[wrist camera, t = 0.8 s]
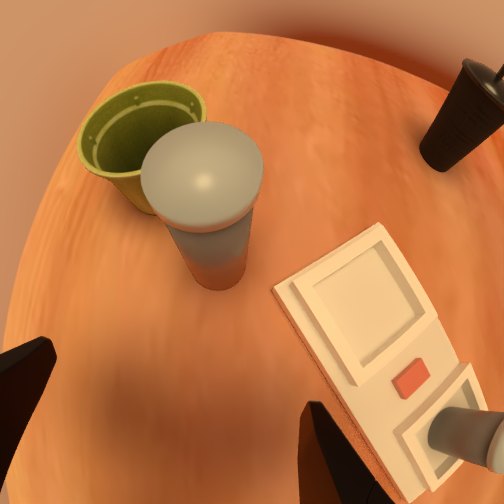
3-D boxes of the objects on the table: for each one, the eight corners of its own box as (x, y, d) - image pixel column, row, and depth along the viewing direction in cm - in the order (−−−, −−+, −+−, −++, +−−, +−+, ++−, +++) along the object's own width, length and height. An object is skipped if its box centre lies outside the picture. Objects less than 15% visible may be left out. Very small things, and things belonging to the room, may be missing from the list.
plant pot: (124, 151, 26) (96, 90, 18) (214, 143, 27) (209, 74, 19) (108, 235, 23) (61, 184, 15) (212, 231, 24) (203, 170, 16)
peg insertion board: (401, 498, 16) (464, 539, 6) (271, 290, 22) (300, 242, 12) (475, 425, 18) (547, 433, 8) (371, 228, 25) (434, 164, 15)
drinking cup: (430, 185, 27) (536, 64, 8) (399, 133, 29) (475, 7, 10) (465, 179, 28) (557, 83, 9) (437, 132, 30) (509, 30, 12)
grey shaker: (206, 304, 22) (169, 245, 9) (178, 252, 23) (126, 152, 11) (259, 274, 23) (287, 185, 10) (229, 225, 24) (226, 108, 12)
